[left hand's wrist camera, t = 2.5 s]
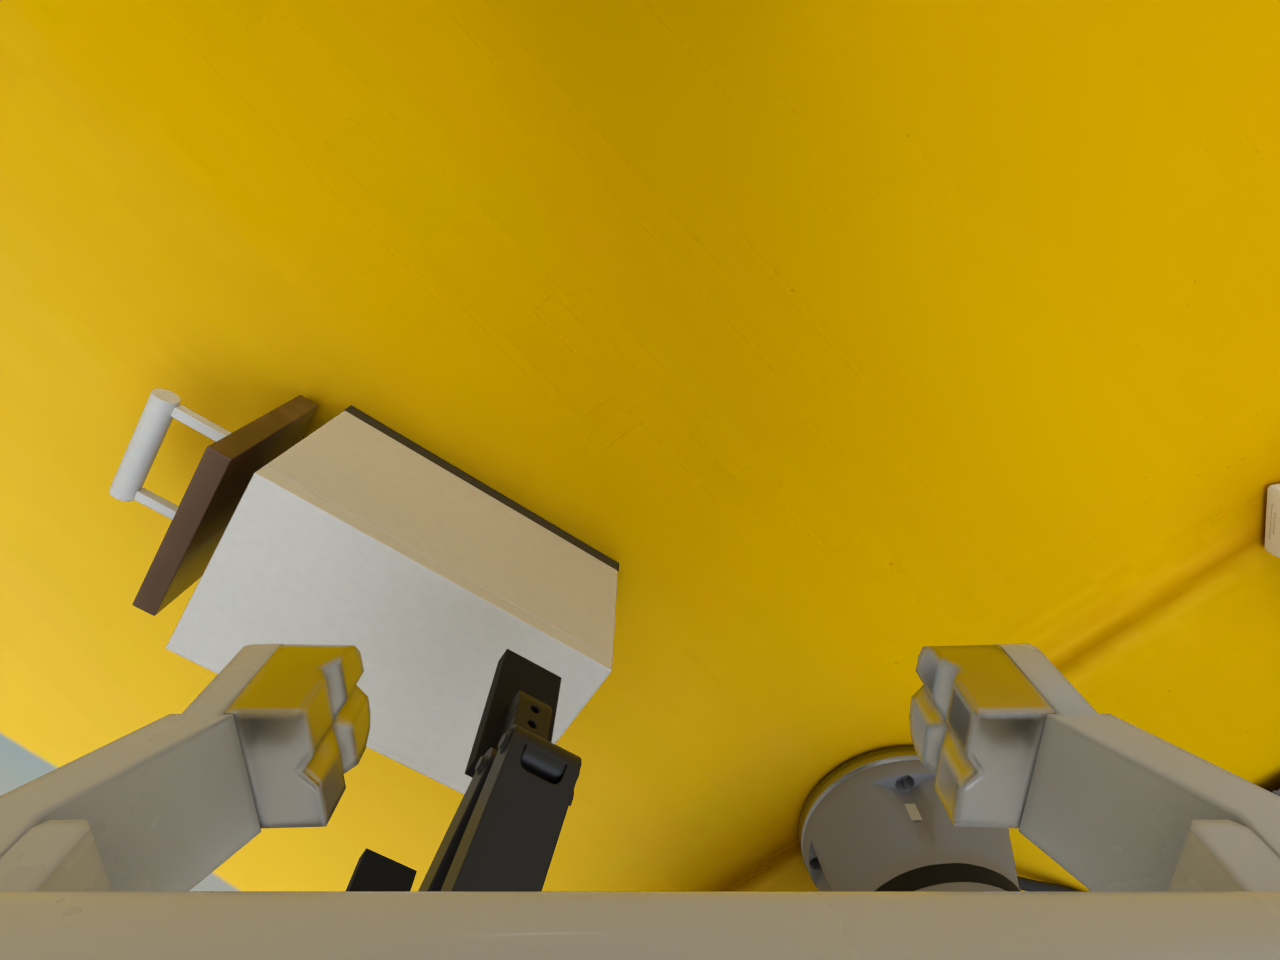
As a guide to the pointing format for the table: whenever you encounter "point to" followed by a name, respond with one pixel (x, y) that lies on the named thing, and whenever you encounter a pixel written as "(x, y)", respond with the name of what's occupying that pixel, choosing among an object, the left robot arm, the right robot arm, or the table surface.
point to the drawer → (200, 485)
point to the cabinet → (404, 587)
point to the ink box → (1273, 520)
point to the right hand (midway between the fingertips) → (455, 772)
